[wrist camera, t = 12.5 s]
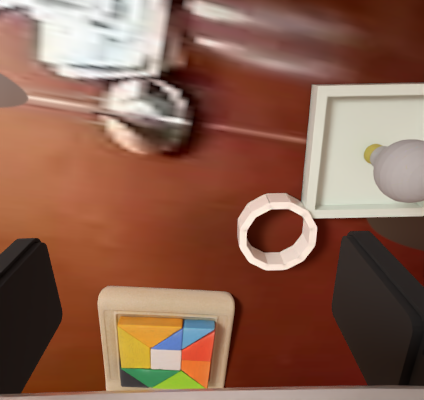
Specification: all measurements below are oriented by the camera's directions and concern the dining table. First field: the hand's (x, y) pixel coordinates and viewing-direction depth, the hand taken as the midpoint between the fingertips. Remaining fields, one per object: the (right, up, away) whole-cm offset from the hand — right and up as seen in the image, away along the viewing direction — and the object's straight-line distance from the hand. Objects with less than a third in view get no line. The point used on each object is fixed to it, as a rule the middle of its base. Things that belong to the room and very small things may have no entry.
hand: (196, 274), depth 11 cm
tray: (+18, +8, +26) cm, 32 cm away
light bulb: (+18, +8, +25) cm, 32 cm away
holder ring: (+8, -1, +29) cm, 30 cm away
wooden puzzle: (-6, -17, +36) cm, 41 cm away
